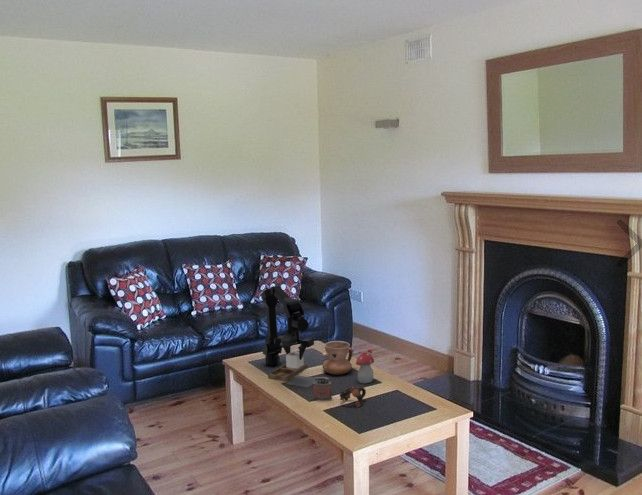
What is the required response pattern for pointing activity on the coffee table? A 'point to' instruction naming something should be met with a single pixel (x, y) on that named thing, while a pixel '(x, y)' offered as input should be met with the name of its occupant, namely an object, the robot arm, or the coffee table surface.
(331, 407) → the coffee table surface
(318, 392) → the lighter
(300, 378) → the pad
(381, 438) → the coffee table surface
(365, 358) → the decorative ornament
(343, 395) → the brown irregular piece
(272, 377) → the tray
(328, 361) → the ceramic jug
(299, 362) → the letter cube
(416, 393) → the coffee table surface
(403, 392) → the coffee table surface
